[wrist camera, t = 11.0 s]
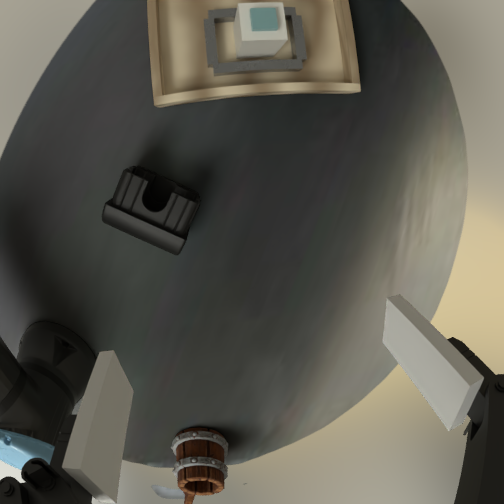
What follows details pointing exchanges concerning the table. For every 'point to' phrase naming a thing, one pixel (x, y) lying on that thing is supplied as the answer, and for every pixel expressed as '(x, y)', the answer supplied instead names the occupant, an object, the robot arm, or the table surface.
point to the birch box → (252, 84)
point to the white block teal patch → (259, 29)
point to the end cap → (152, 209)
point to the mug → (200, 462)
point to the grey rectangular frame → (256, 65)
